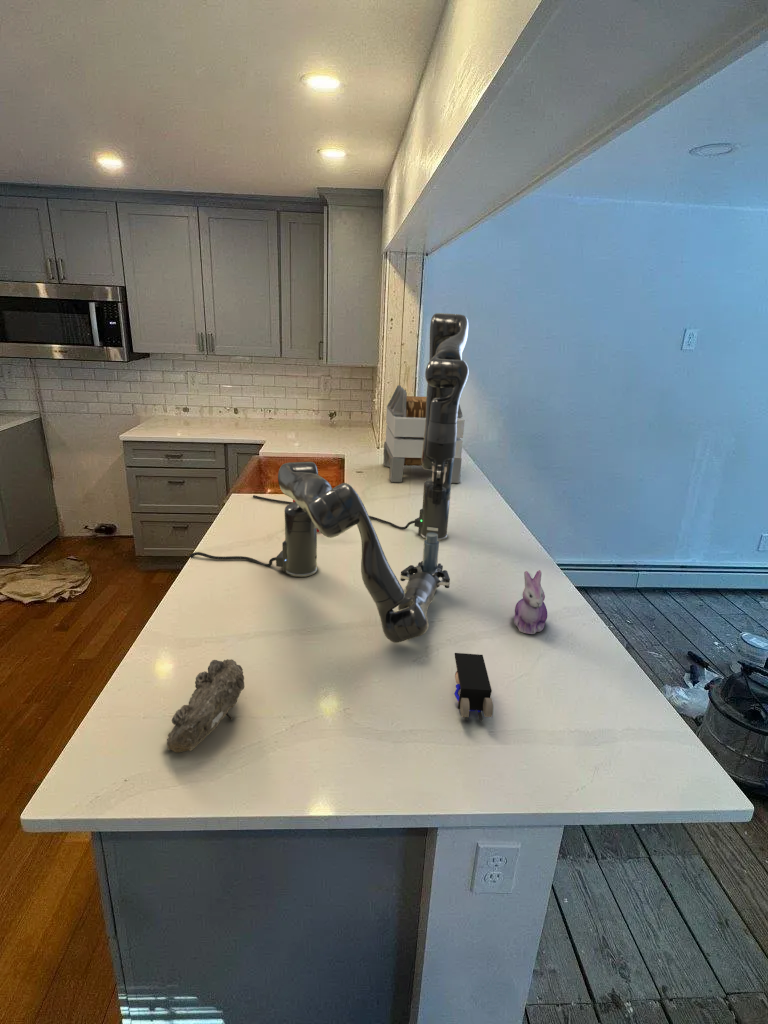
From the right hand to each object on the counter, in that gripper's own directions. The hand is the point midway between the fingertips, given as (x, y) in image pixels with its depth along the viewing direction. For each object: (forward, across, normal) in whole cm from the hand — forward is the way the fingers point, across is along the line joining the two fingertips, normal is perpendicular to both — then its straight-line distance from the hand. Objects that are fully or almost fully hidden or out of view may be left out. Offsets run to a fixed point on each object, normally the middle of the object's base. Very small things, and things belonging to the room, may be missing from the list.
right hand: (436, 500), depth 152 cm
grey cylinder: (+27, +1, 0) cm, 27 cm away
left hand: (+20, -1, 0) cm, 20 cm away
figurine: (+27, +15, +26) cm, 40 cm away
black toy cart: (+26, +49, +10) cm, 56 cm away
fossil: (+26, +62, -38) cm, 77 cm away
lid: (-3, 0, 0) cm, 3 cm away
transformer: (+28, -120, -11) cm, 124 cm away
